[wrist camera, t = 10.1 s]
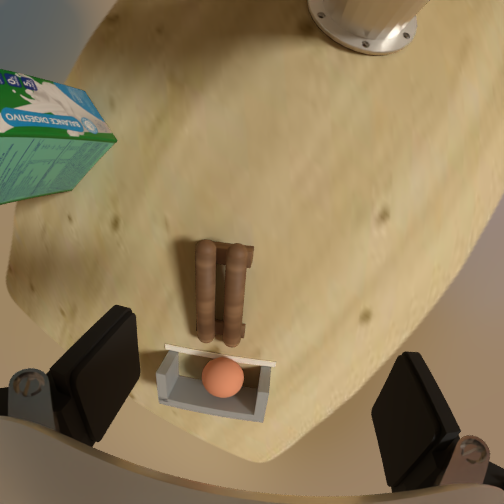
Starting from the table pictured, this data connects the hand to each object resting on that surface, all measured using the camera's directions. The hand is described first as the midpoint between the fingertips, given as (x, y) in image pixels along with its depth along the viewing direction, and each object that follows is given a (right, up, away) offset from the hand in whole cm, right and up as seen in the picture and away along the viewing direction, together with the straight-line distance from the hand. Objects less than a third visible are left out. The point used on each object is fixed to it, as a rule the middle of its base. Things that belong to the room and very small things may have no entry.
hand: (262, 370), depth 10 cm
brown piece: (-3, 0, +23) cm, 24 cm away
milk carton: (-22, +18, +21) cm, 35 cm away
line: (-4, -9, +26) cm, 28 cm away
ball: (-4, -11, +24) cm, 26 cm away
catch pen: (-5, -12, +27) cm, 30 cm away
